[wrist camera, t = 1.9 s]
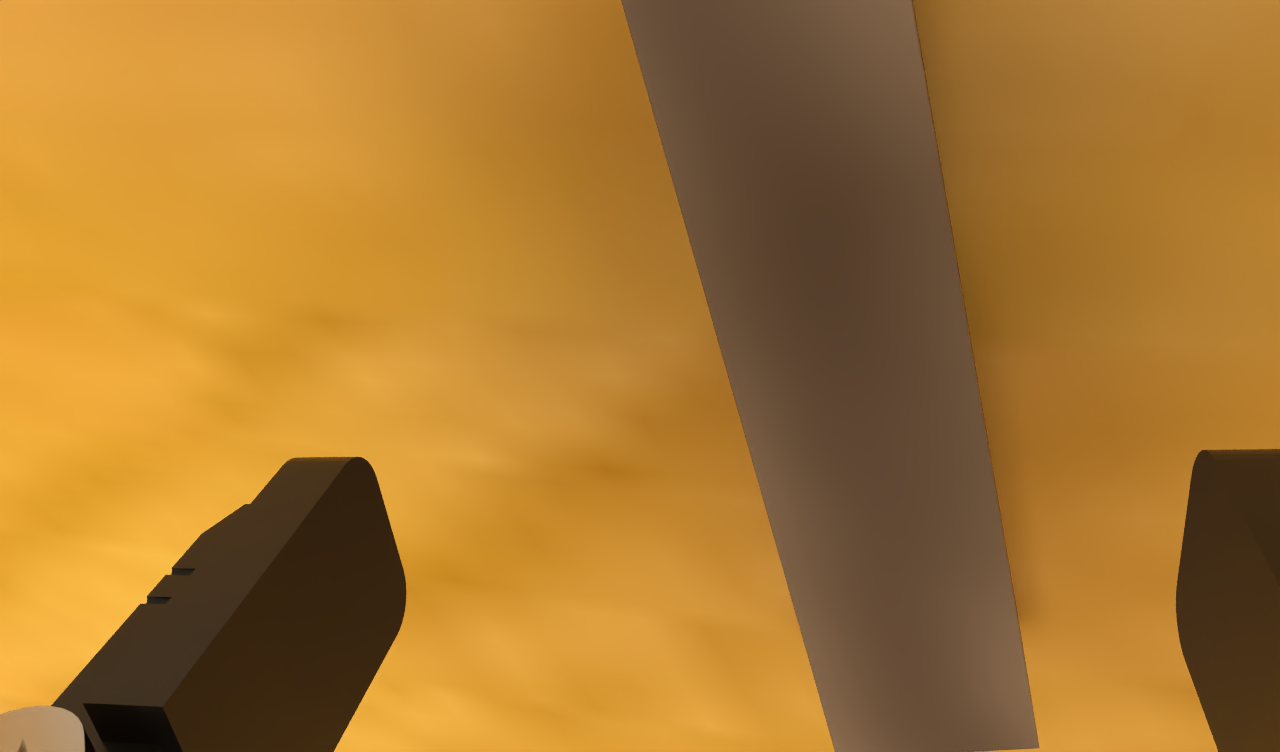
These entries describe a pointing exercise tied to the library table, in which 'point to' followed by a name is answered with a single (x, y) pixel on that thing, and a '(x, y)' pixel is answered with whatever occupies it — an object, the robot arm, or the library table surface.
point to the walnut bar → (847, 353)
